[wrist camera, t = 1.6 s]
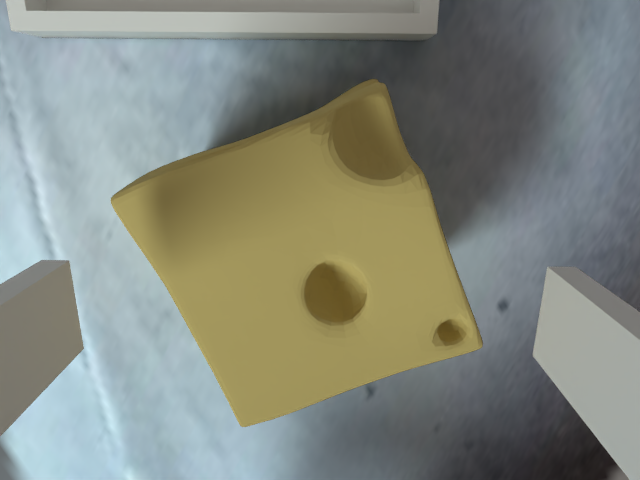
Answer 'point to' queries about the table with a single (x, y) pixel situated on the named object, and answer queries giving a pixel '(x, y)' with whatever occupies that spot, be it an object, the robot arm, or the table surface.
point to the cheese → (304, 257)
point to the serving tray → (227, 19)
